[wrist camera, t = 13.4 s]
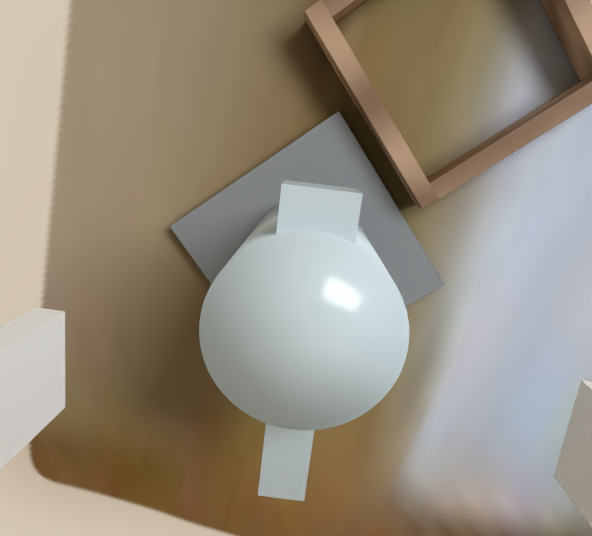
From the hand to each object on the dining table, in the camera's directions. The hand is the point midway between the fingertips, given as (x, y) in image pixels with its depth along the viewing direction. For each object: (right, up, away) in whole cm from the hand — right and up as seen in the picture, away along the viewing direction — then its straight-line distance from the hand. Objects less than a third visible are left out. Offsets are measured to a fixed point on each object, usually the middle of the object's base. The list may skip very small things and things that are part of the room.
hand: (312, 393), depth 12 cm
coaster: (0, +4, +17) cm, 17 cm away
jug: (0, +2, +17) cm, 17 cm away
